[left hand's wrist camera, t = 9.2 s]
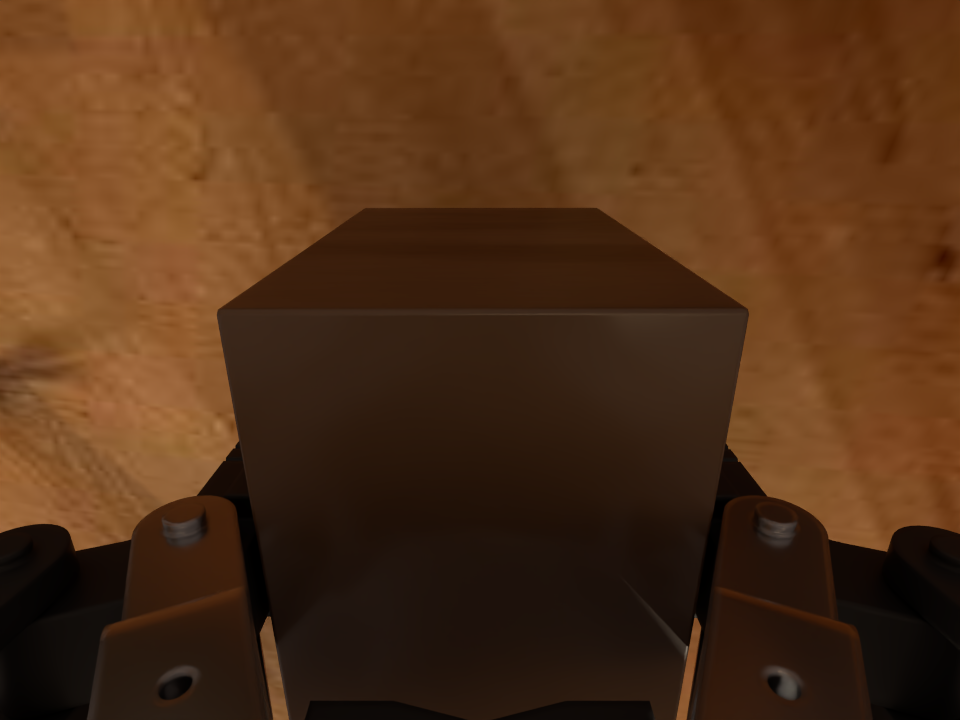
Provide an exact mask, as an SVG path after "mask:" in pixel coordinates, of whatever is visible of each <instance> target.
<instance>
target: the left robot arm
mask: <svg viewBox="0 0 960 720" xmlns="http://www.w3.org/2000/svg"><path fill="white" fill-rule="evenodd" d="M267 616H271V615H270V609H269V604H268V598H267V593H266V587H265V581H264V576H263V570H262V565H261V559H260V553H259V548H258V542H257V537H256V531H255V525H254V520H253V514H252V509H251V503H250V497H249V492H248V486H247V481H246V475H245V470H244V464H243V458H242V453H241V447H240V442H238V443H237V444H236V448H235V449H233V450H232V451H231V452H230V453H229V455H228V456H227V457H226V461H223V463H222V464H221V465H220V466H219V468H218V469H217V470H216V472H215V473H214V474H213V475H212V477H211V478H210V479H209V481H208V482H207V483H206V485H205V486H204V487H203V488H202V490H201V491H200V492H199V494H198V495H197V496H193V497H188V498H184V499H180V500H176V501H174V502H171V503H168V504H166V505H164V506H162V507H160V508H158V509H156V510H154V511H153V512H151V513H150V514H148V515H147V516H146V517H145V518H144V519H142V520H141V521H140V522H139V524H138V525H137V526H136V528H135V529H134V531H133V534H132V539H131V540H128V541H124V542H119V543H114V544H109V545H104V546H99V547H94V548H89V549H84V550H79V551H75V549H74V546H73V543H72V540H71V537H70V534H69V532H68V531H67V530H66V529H65V528H63V527H61V526H58V525H52V524H36V525H29V526H23V527H19V528H15V529H12V530H8V531H5V532H2V533H0V720H273V714H272V708H271V701H270V695H269V688H268V682H267V675H266V669H265V662H264V656H263V649H262V643H261V638H260V631H261V629H262V627H263V624H264V622H265V620H266V618H267ZM694 618H698V620H699V623H700V625H701V632H700V638H699V643H698V649H697V655H696V662H695V668H694V675H693V681H692V688H691V695H690V701H689V708H688V714H687V720H960V534H958V533H955V532H952V531H949V530H945V529H940V528H935V527H929V526H908V527H903V528H901V529H898V530H897V531H896V532H895V533H894V534H893V536H892V539H891V542H890V545H889V548H888V551H887V552H885V551H880V550H875V549H870V548H865V547H860V546H855V545H850V544H845V543H840V542H836V541H832V540H829V539H828V534H827V531H826V529H825V528H824V526H823V525H822V524H821V522H820V521H819V520H818V519H816V518H815V517H814V516H813V515H812V514H810V513H809V512H807V511H806V510H804V509H802V508H800V507H798V506H796V505H794V504H792V503H789V502H786V501H784V500H780V499H776V498H772V497H767V496H766V494H765V493H764V492H763V490H762V489H761V488H760V487H759V485H758V484H757V483H756V481H755V480H754V479H753V478H752V476H751V475H750V474H749V473H748V471H747V470H746V469H745V467H744V466H743V465H742V464H741V462H738V458H737V457H736V456H735V455H734V453H733V452H732V451H731V450H730V449H728V446H727V444H725V450H724V455H723V461H722V466H721V472H720V477H719V483H718V488H717V494H716V500H715V505H714V511H713V516H712V522H711V527H710V533H709V538H708V544H707V550H706V555H705V561H704V566H703V572H702V577H701V583H700V589H699V594H698V600H697V605H696V611H695V616H694ZM305 720H467V719H463V718H459V717H455V716H452V715H448V714H444V713H440V712H436V711H432V710H428V709H424V708H420V707H416V706H413V705H409V704H405V703H401V702H397V701H310V703H309V707H308V710H307V713H306V717H305ZM493 720H655V717H654V713H653V710H652V707H651V703H650V701H563V702H559V703H555V704H551V705H547V706H544V707H540V708H536V709H532V710H528V711H524V712H520V713H516V714H512V715H508V716H505V717H501V718H497V719H493Z"/></svg>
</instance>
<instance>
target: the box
mask: <svg viewBox="0 0 960 720" xmlns="http://www.w3.org/2000/svg"><path fill="white" fill-rule="evenodd" d="M748 316H749V313H748V309H747V308H745V307H744V306H742V305H741V304H739V303H738V302H737V301H735V300H734V299H732V298H731V297H729V296H728V295H726V294H725V293H723V292H722V291H720V290H719V289H717V288H716V287H714V286H713V285H711V284H710V283H708V282H707V281H705V280H704V279H702V278H701V277H699V276H698V275H696V274H695V273H693V272H692V271H690V270H689V269H687V268H686V267H684V266H683V265H681V264H680V263H678V262H677V261H675V260H674V259H672V258H671V257H669V256H668V255H666V254H665V253H663V252H662V251H660V250H659V249H657V248H656V247H654V246H653V245H651V244H650V243H648V242H647V241H645V240H644V239H642V238H641V237H640V236H638V235H637V234H635V233H634V232H632V231H631V230H629V229H628V228H626V227H625V226H623V225H622V224H620V223H619V222H617V221H616V220H614V219H613V218H611V217H610V216H608V215H607V214H605V213H604V212H602V211H601V210H599V209H597V208H365V209H363V210H362V211H361V212H359V213H358V214H356V215H355V216H353V217H352V218H350V219H349V220H347V221H346V222H345V223H343V224H342V225H340V226H339V227H337V228H336V229H334V230H333V231H332V232H330V233H329V234H327V235H326V236H324V237H323V238H321V239H320V240H318V241H317V242H316V243H314V244H313V245H311V246H310V247H308V248H307V249H305V250H304V251H302V252H301V253H300V254H298V255H297V256H295V257H294V258H292V259H291V260H289V261H288V262H287V263H285V264H284V265H282V266H281V267H279V268H278V269H276V270H275V271H273V272H272V273H271V274H269V275H268V276H266V277H265V278H263V279H262V280H260V281H259V282H257V283H256V284H255V285H253V286H252V287H250V288H249V289H247V290H246V291H244V292H243V293H242V294H240V295H239V296H237V297H236V298H234V299H233V300H231V301H230V302H228V303H227V304H226V305H224V306H223V307H221V308H220V309H218V312H217V319H218V324H219V330H220V335H221V341H222V347H223V352H224V358H225V363H226V369H227V374H228V380H229V386H230V391H231V397H232V402H233V408H234V414H235V419H236V425H237V430H238V436H239V442H240V447H241V453H242V458H243V464H244V470H245V475H246V481H247V486H248V492H249V497H250V503H251V509H252V514H253V520H254V525H255V531H256V537H257V542H258V548H259V553H260V559H261V565H262V570H263V576H264V581H265V587H266V593H267V598H268V604H269V609H270V615H271V620H272V626H273V632H274V637H275V643H276V648H277V654H278V660H279V665H280V671H281V676H282V682H283V688H284V693H285V699H286V704H287V710H288V716H289V720H305V717H306V713H307V710H308V707H309V703H310V701H397V702H401V703H405V704H409V705H413V706H416V707H420V708H424V709H428V710H432V711H436V712H440V713H444V714H448V715H452V716H455V717H459V718H463V719H467V720H493V719H497V718H501V717H505V716H508V715H512V714H516V713H520V712H524V711H528V710H532V709H536V708H540V707H544V706H547V705H551V704H555V703H559V702H563V701H650V703H651V707H652V710H653V713H654V717H655V720H676V716H677V711H678V705H679V700H680V694H681V689H682V683H683V677H684V672H685V666H686V661H687V655H688V650H689V644H690V639H691V633H692V627H693V622H694V616H695V611H696V605H697V600H698V594H699V589H700V583H701V577H702V572H703V566H704V561H705V555H706V550H707V544H708V538H709V533H710V527H711V522H712V516H713V511H714V505H715V500H716V494H717V488H718V483H719V477H720V472H721V466H722V461H723V455H724V450H725V444H726V438H727V433H728V427H729V422H730V416H731V411H732V405H733V400H734V394H735V388H736V383H737V377H738V372H739V366H740V361H741V355H742V350H743V344H744V338H745V333H746V327H747V322H748Z"/></svg>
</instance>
